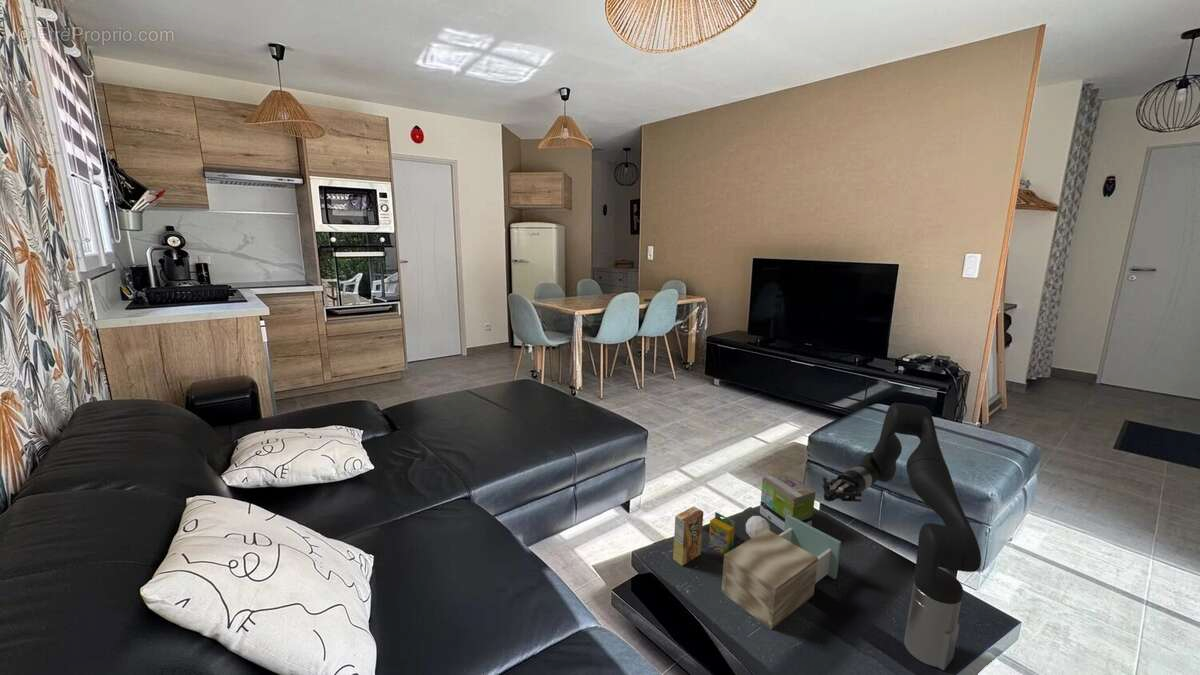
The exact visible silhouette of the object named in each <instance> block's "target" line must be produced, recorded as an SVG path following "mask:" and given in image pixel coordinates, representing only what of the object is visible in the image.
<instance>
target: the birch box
mask: <svg viewBox="0 0 1200 675" xmlns="http://www.w3.org/2000/svg"><path fill="white" fill-rule="evenodd" d="M817 562H818V557H816V556H814V555H812V554H811V553H809V552H807V551H805V550H804V549H802V548H800V547H798V546H797V545H795V544H793V543H791V542H789V541H788V540H786V539H784V538H782V537H781V536H779V534H778V533H775V532H773V531H772V530H771V529H770V530H768V529H766V530H765V531H763V532H761V533H760V534H758V535H756V536H755V537H753V538H751V537H750V539H748V540H746V541H744V542H742V544H740V545H738V546H736V547H733V550H731V551H729V552H728V553H726V554H724V555H723V564H722V580H721V593H722V594H724V595H725V596H726V597H728V598H729V599H730V600H732V601H733V602H734V603H736V605H738V606H739V607H741V608H742V609H743V610H745V611H746V612H747V613H749V615H751V616H753V617H754V618H755V619H757V620H758V621H759V622H761V623H762V624H763V625H765V626H766V627H767V628H769V629H770V630H773V628H775V627H777V626H778V624H780V623H781V622H782V621H784V620H785V619H786V618H787V617H789V616H790V615H791V614H792V613H793V612H795V611H796V610H798V608H800V607H801V606H802V605H803V604H805V603H806V602H808V601H809V600H810V599H811V598H813V597H814V596H815V586H816V583H815V579H816V571H817Z"/></svg>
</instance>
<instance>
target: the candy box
mask: <svg viewBox="0 0 1200 675" xmlns="http://www.w3.org/2000/svg"><path fill="white" fill-rule="evenodd" d="M703 522H704V511H703V510H701V509H700V508H698V507H697V506H694V505H693V506H692V507H690V508H688V509H685V510H684V511H682V512H680V513H678V514H677V515H675V517H674V533H673V534H674V536H673V537H674V539H673V552H672V553H673V554H672V555H673V556H672V560H673V561H674V562H676V563H678V564H679V565H680V566H684V565H686V564H688V563H689V562H690V561H693V560H694V559H696V558H697V557H699V556H700V555H701V554H702V553H701V552H702V538H703V537H702V536H703V524H704V523H703Z"/></svg>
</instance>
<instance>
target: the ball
mask: <svg viewBox="0 0 1200 675" xmlns="http://www.w3.org/2000/svg"><path fill="white" fill-rule="evenodd" d="M770 526H771V525H770V523H769V522H768V520H767V519H765V517H763V516H761V515H752V516H751V517H749V518H748V519H747V522H746V523H745V533H747V535H748V536H749V537H750V539H751V538H753V537H755V536H756V535H758V534H760V533H761V532H763V531H765V530H766V529H768V530H770V531H771V527H770Z"/></svg>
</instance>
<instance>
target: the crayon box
mask: <svg viewBox="0 0 1200 675" xmlns="http://www.w3.org/2000/svg"><path fill="white" fill-rule="evenodd" d="M714 513H715V514H714V517H713V518H711V519H710V521H709V533H708V534H709V536H708V548H711V549H712V550H713V551H716V552H717V553H719V554H721V555H722V556H724V554H726V553H728V552H729V551H731V550H733V549H734V539H735V524H736V522H735V521H734V520H733V519H731V518H728V517H726V516H724V515H722V514H721V513H719V512H717V511H715V512H714ZM724 519H725V520H724ZM726 520H727V521H726Z"/></svg>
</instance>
